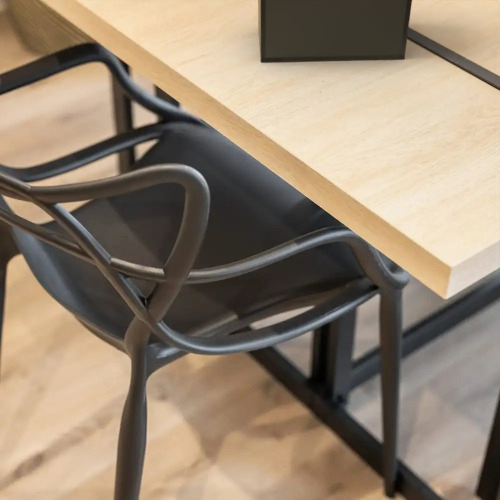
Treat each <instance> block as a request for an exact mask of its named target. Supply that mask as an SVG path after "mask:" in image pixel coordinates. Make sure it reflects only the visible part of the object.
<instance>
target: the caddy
mask: <svg viewBox="0 0 500 500" xmlns="http://www.w3.org/2000/svg"><path fill="white" fill-rule="evenodd" d="M412 3H413V0H257V14H258V15H257V17H258V18H257V21H258V22H257V26H258V27H257V29H258V41H259V42H258V43H259V57H260V63H286V62H289V63H291V62H328V61H329V62H330V61H335V62H336V61H371V60H372V61H377V60H405V57H406V51H407V50H406V49H407V40H408V35H409V26H410V20H411V12H412V5H413V4H412Z"/></svg>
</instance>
